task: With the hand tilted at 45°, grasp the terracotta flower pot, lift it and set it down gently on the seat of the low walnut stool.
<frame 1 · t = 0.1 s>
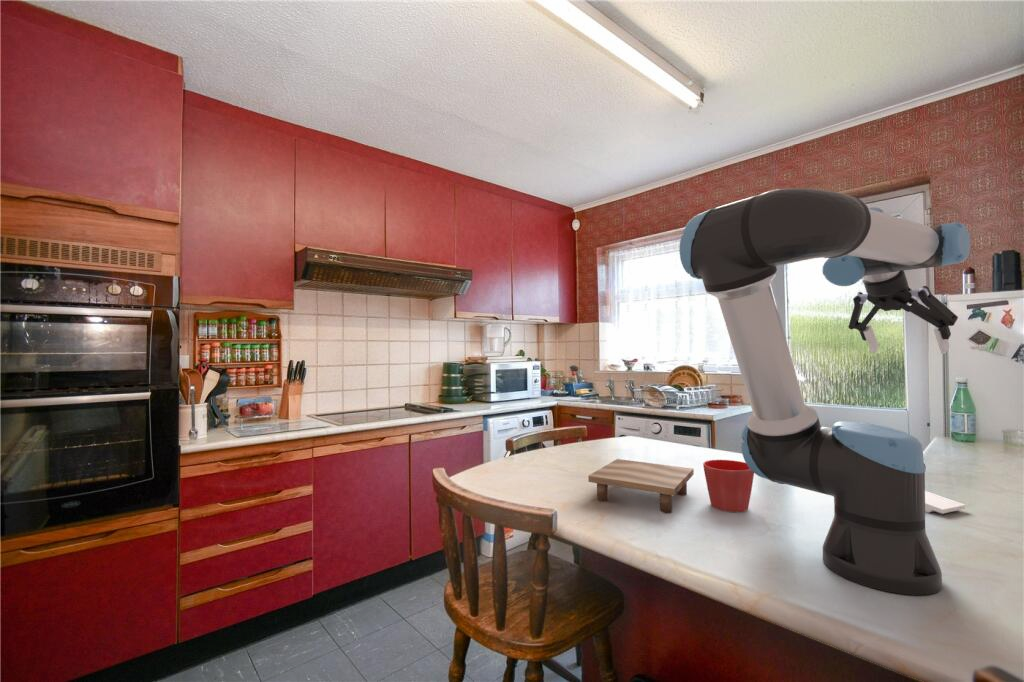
hand: (908, 350, 111), 36 cm above the countertop, tool tilted 35°, fingers open, 13 cm apart
walnut stool: (642, 496, 114), on the countertop
flower pot: (728, 507, 106), on the countertop
wall bracket: (883, 498, 114), on the countertop
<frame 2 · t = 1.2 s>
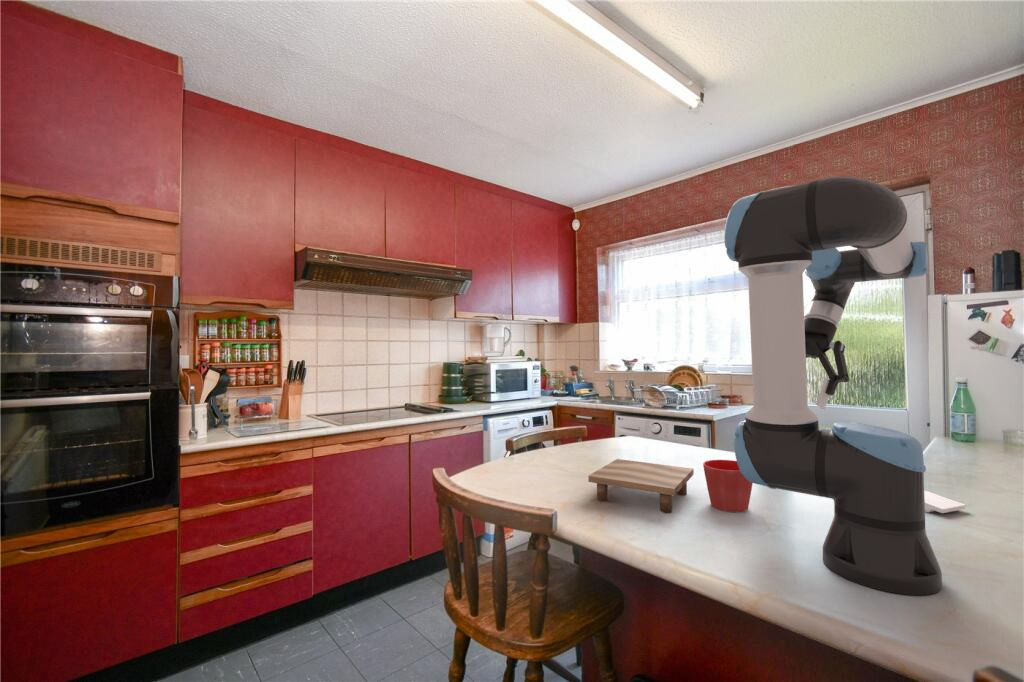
hand: (790, 400, 113), 23 cm above the countertop, tool tilted 25°, fingers open, 13 cm apart
nothing on the countertop moved.
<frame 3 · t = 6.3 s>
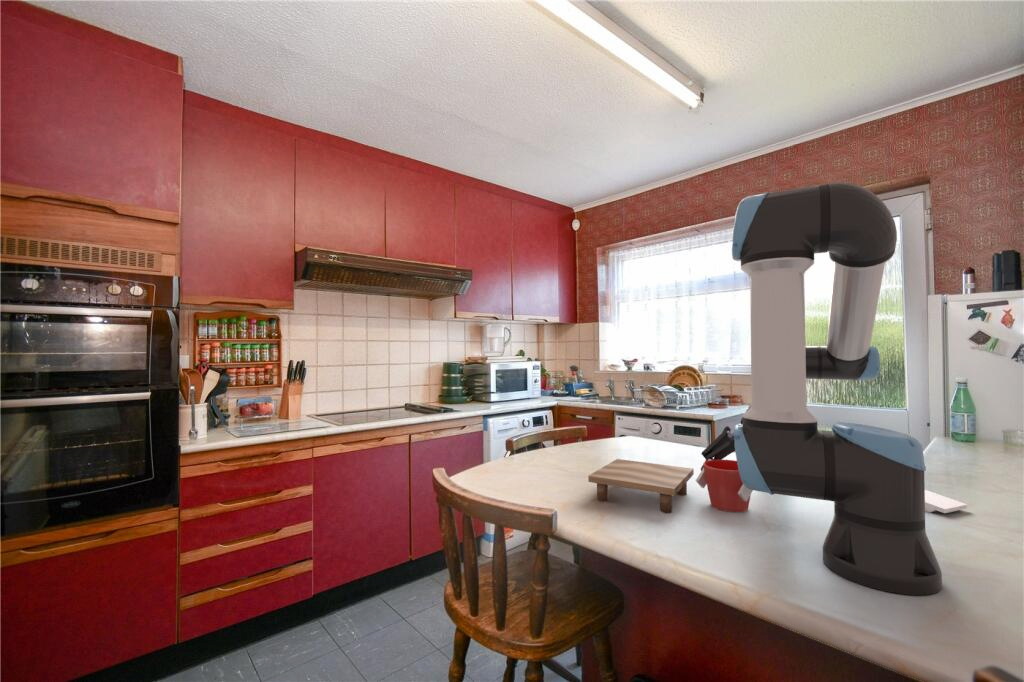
hand: (719, 490, 105), 4 cm above the countertop, tool tilted 45°, fingers closed on flower pot, 10 cm apart
flower pot: (728, 507, 106), on the countertop, touching gripper
everything else where it was.
when the fingers open (12 cm above the countertop, at t = 11.3 s): flower pot drops 1 cm, resting on walnut stool.
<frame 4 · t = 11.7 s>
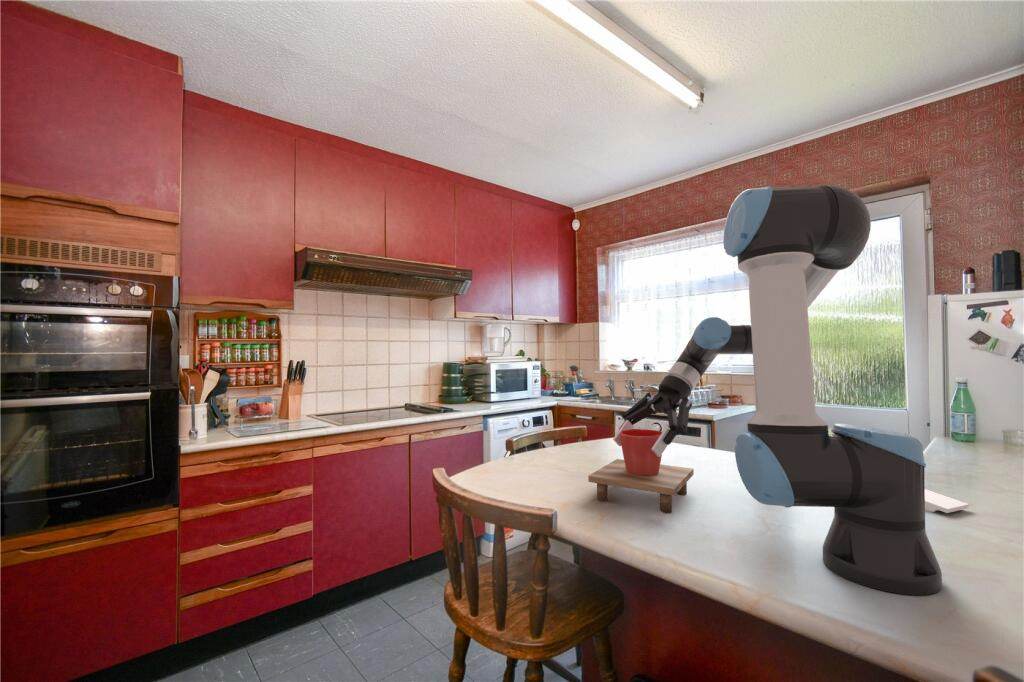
hand: (634, 447, 113), 12 cm above the countertop, tool tilted 45°, fingers open, 13 cm apart
flower pot: (642, 472, 115), point 6 cm above the countertop, touching walnut stool
everything else where it was.
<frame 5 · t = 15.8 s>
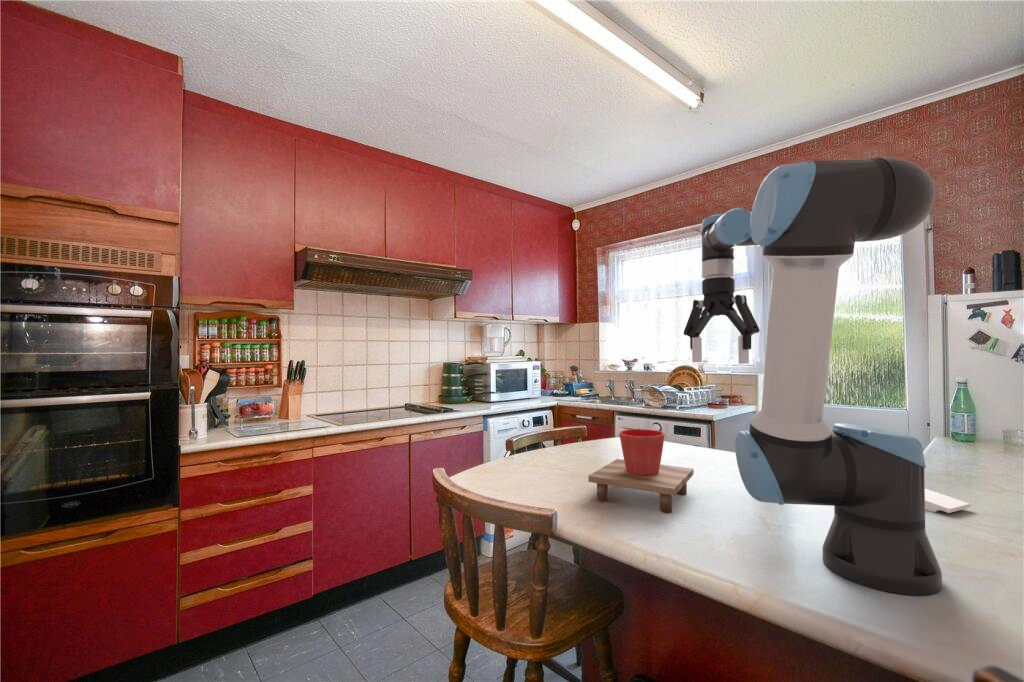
hand: (719, 363, 116), 33 cm above the countertop, tool pointing down, fingers open, 13 cm apart
at the end: flower pot inside the target area on the walnut stool (0.4 cm from its centre), point 5.8 cm above the walnut stool's base; flower pot tilted 0°; the gripper is holding nothing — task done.
